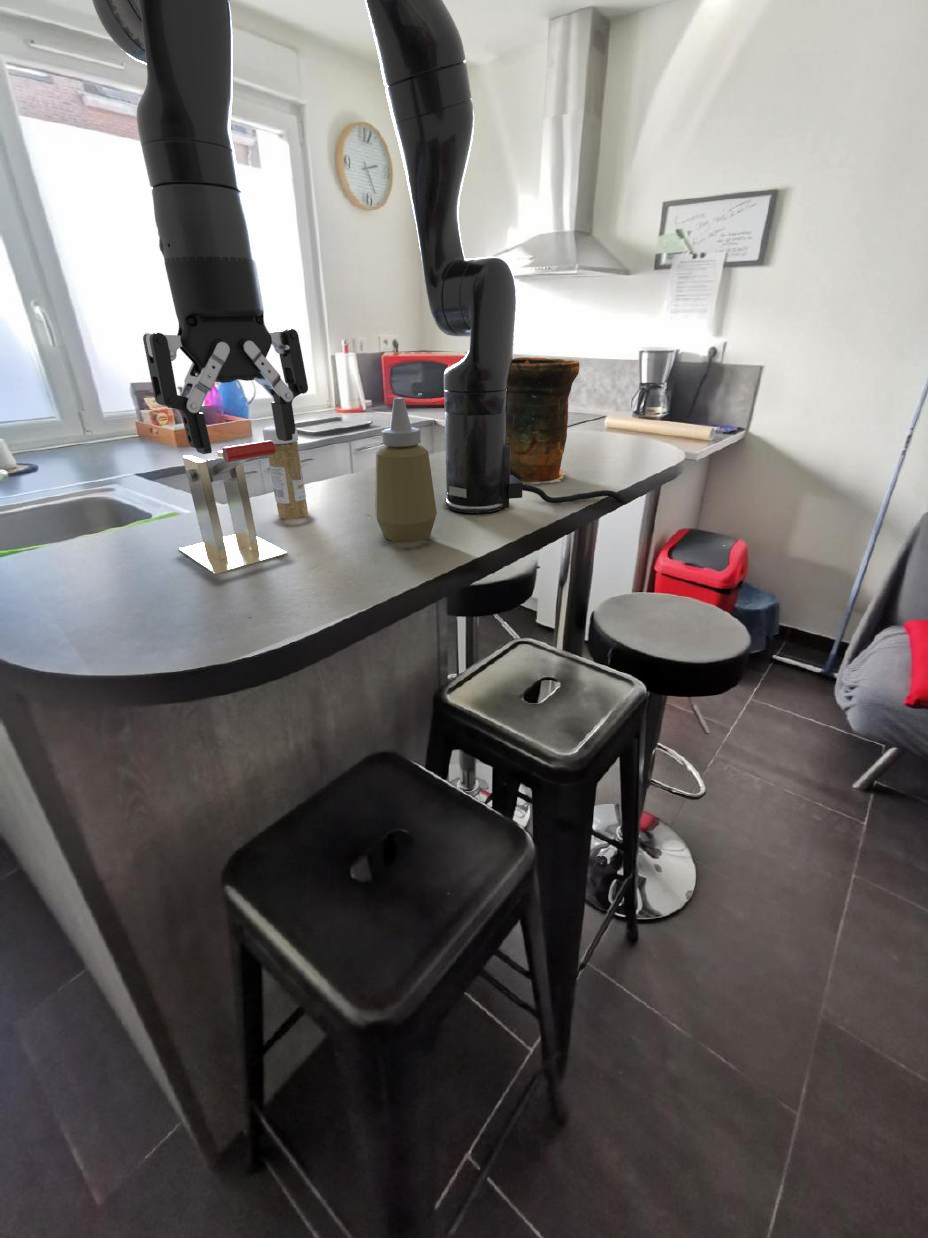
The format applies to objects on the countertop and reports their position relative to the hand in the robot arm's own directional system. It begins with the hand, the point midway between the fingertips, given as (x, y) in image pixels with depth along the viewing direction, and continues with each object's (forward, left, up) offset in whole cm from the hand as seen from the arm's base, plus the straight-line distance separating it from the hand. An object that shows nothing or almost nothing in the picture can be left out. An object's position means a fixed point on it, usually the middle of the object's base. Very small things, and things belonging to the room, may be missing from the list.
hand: (246, 445), depth 57 cm
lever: (+2, -4, -4) cm, 6 cm away
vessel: (-45, -37, -15) cm, 61 cm away
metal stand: (+5, -8, -15) cm, 18 cm away
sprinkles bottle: (-2, -22, -15) cm, 27 cm away
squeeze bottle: (-17, -9, -15) cm, 25 cm away
